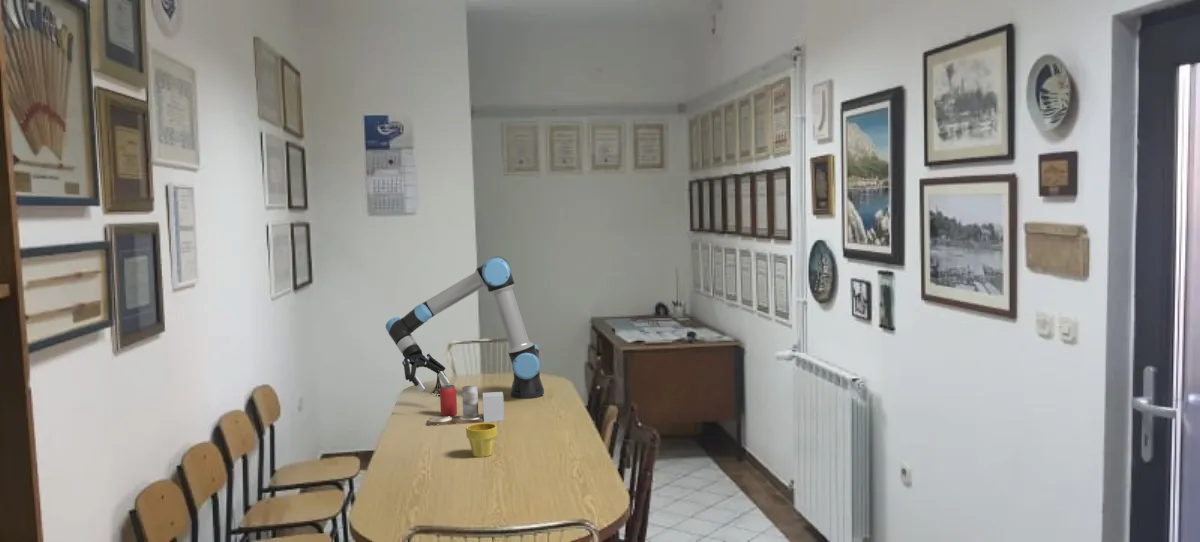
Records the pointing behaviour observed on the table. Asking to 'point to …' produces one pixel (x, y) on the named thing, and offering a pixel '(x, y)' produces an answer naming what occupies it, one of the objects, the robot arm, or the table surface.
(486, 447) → the plant pot
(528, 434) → the table surface
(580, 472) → the table surface
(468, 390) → the board
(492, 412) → the white upright block
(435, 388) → the eiffel tower figurine
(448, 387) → the beer can
